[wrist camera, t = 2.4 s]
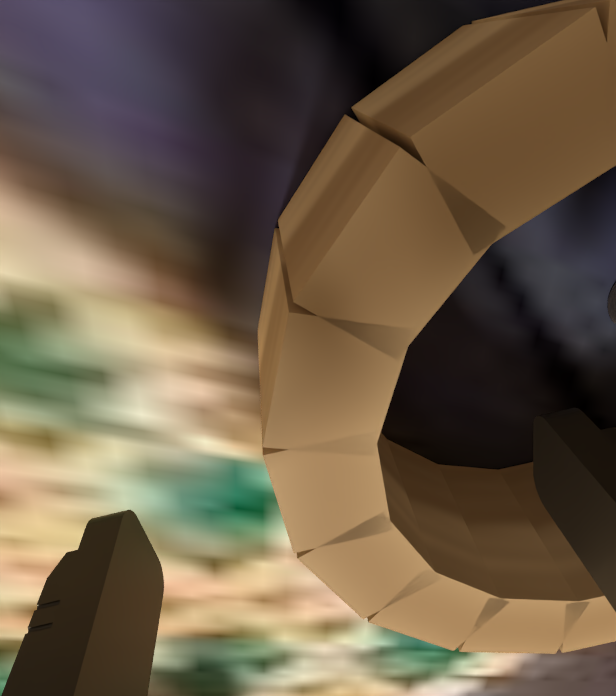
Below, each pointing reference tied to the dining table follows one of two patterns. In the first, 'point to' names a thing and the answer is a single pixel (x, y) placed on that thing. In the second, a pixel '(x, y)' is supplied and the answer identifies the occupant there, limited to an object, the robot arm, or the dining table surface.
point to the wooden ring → (413, 314)
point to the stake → (612, 304)
